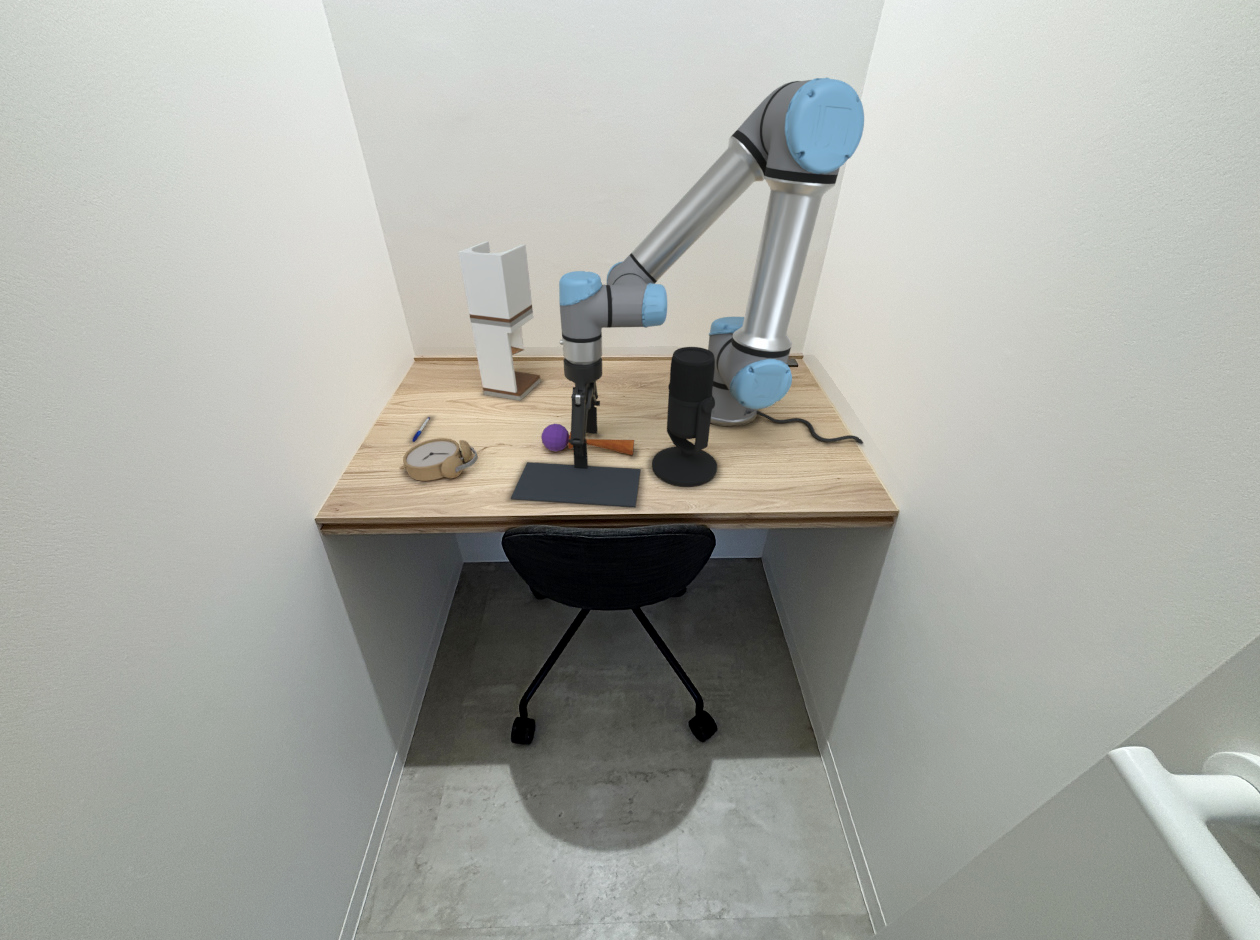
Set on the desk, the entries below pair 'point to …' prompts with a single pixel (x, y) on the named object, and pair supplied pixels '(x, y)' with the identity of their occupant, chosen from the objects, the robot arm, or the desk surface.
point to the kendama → (558, 438)
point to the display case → (498, 315)
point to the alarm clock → (438, 459)
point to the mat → (578, 484)
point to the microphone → (688, 420)
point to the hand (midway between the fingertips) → (586, 449)
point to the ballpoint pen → (420, 430)
